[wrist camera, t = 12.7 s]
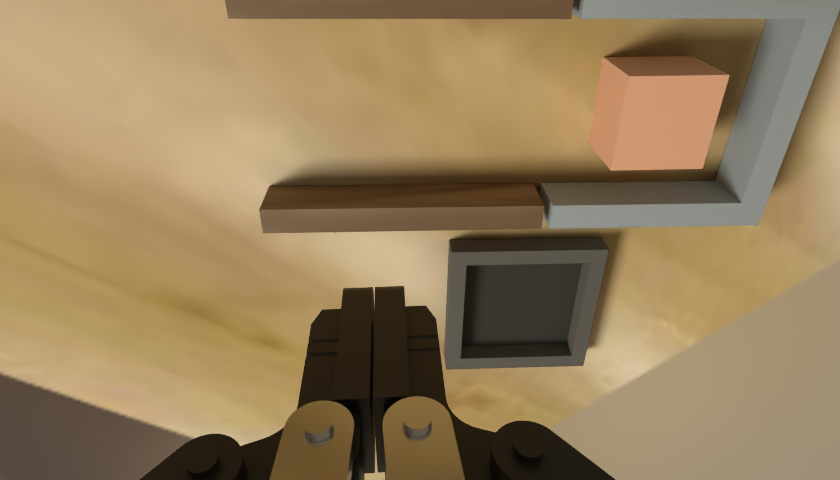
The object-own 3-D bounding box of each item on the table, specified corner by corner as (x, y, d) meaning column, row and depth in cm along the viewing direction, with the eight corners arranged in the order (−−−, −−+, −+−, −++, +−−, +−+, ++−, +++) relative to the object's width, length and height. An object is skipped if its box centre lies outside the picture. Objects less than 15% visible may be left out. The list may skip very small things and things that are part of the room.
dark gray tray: (449, 240, 36) (451, 252, 34) (601, 237, 36) (608, 249, 35) (444, 354, 41) (446, 369, 40) (577, 351, 41) (583, 365, 40)
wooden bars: (238, -25, 27) (222, -18, 25) (558, -24, 28) (575, -16, 25) (272, 208, 34) (262, 233, 31) (530, 204, 35) (541, 228, 32)
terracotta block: (602, 56, 30) (629, 76, 27) (691, 55, 30) (729, 74, 27) (588, 142, 33) (610, 170, 29) (670, 141, 33) (702, 168, 30)
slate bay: (568, -24, 28) (586, -16, 25) (808, -23, 28) (849, -15, 26) (537, 204, 35) (549, 228, 32) (731, 201, 35) (758, 225, 33)
